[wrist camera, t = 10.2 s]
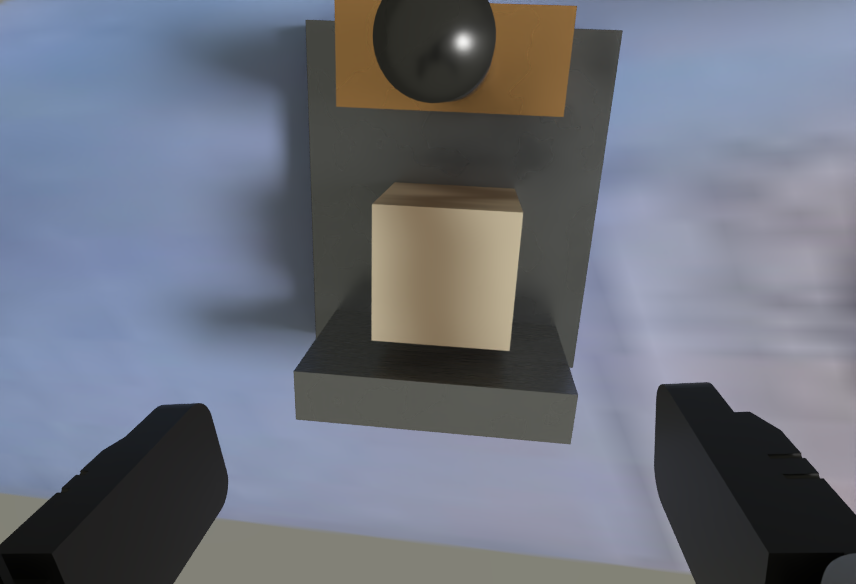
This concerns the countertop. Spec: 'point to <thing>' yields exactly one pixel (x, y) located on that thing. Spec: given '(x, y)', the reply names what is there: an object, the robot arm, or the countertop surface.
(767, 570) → the robot arm
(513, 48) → the press ram
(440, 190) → the block
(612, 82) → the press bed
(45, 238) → the countertop surface
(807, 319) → the countertop surface
